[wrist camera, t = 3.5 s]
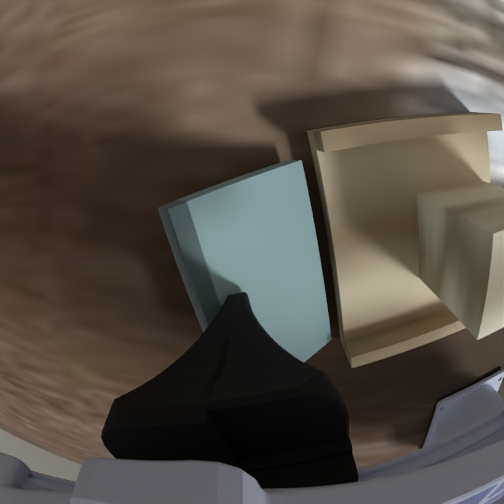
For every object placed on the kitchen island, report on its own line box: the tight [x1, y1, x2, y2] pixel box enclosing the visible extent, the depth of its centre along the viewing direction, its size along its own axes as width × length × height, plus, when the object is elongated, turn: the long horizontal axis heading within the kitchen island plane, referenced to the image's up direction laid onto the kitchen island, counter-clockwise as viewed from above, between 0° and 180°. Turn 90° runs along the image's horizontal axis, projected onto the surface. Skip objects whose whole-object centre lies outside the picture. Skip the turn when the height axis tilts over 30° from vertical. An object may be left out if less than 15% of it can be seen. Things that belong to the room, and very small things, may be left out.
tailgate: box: [158, 160, 332, 362], centre depth 13 cm, size 9×1×6 cm
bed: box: [307, 112, 503, 368], centre depth 14 cm, size 12×10×2 cm
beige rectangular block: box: [417, 181, 504, 340], centre depth 11 cm, size 4×4×6 cm
